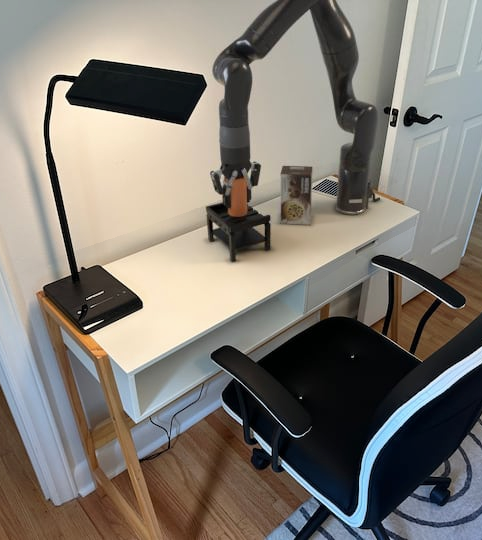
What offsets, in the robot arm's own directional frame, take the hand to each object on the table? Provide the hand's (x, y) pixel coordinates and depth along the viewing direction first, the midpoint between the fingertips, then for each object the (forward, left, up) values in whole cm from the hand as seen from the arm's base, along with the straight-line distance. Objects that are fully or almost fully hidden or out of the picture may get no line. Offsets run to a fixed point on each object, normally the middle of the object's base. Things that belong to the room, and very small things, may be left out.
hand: (237, 204), depth 136 cm
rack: (0, 0, -13) cm, 13 cm away
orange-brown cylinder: (0, 0, -2) cm, 2 cm away
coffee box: (-22, -4, -13) cm, 26 cm away
